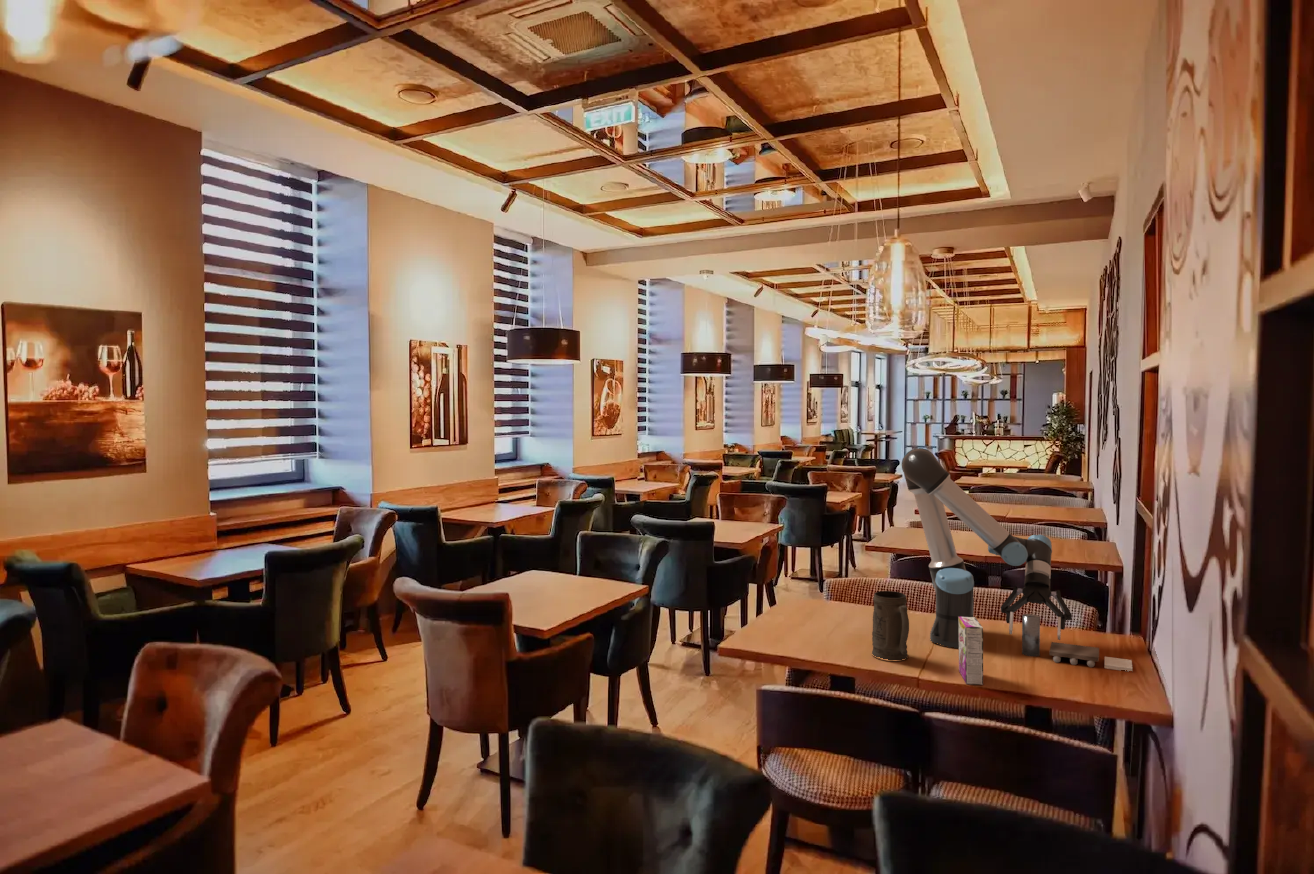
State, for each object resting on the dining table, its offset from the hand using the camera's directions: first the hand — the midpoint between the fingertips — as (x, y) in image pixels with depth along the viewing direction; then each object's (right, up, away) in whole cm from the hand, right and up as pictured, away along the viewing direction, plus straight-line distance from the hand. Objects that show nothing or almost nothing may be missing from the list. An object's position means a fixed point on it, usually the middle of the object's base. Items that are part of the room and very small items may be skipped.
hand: (1034, 634), depth 241 cm
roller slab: (+10, -6, -5) cm, 13 cm away
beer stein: (-44, -7, -3) cm, 45 cm away
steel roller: (-1, -6, +1) cm, 6 cm away
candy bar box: (-29, -7, -21) cm, 36 cm away
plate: (+20, -6, -11) cm, 23 cm away
